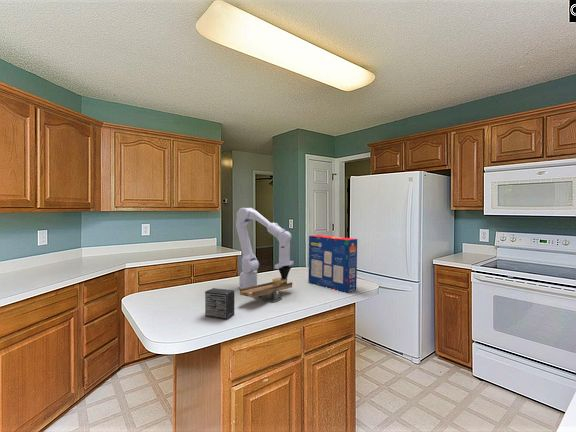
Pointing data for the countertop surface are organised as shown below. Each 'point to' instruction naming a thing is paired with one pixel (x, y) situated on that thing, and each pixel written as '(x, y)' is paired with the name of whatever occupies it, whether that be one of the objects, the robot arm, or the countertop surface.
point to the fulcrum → (270, 297)
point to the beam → (263, 289)
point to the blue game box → (333, 262)
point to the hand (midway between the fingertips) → (284, 280)
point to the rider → (279, 281)
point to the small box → (219, 303)
